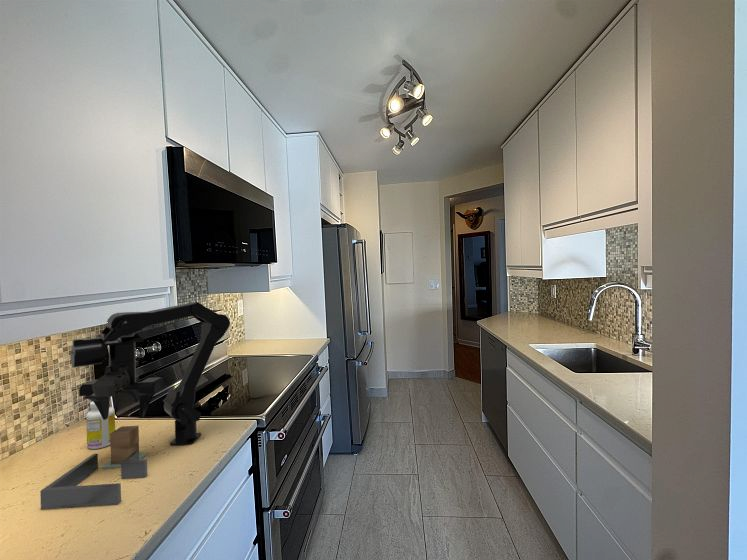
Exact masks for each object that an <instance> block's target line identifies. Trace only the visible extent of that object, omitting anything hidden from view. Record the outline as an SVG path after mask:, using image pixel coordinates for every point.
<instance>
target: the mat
mask: <svg viewBox="0 0 747 560" xmlns="http://www.w3.org/2000/svg"><path fill="white" fill-rule="evenodd" d="M146 454H147V455H148V454H149V451H145V452H142V451H139V460H141V459H144V458H145V457H146V456H147V455H146ZM145 455H146V456H145ZM144 456H145V457H144ZM143 457H144V458H143ZM117 468H118V469H119V468H120V469H121V464H111V459H109V460H108V461H107V462H105V463H104V464H103V465H102V466H100V469H104V470H105V469H117Z"/></svg>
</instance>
